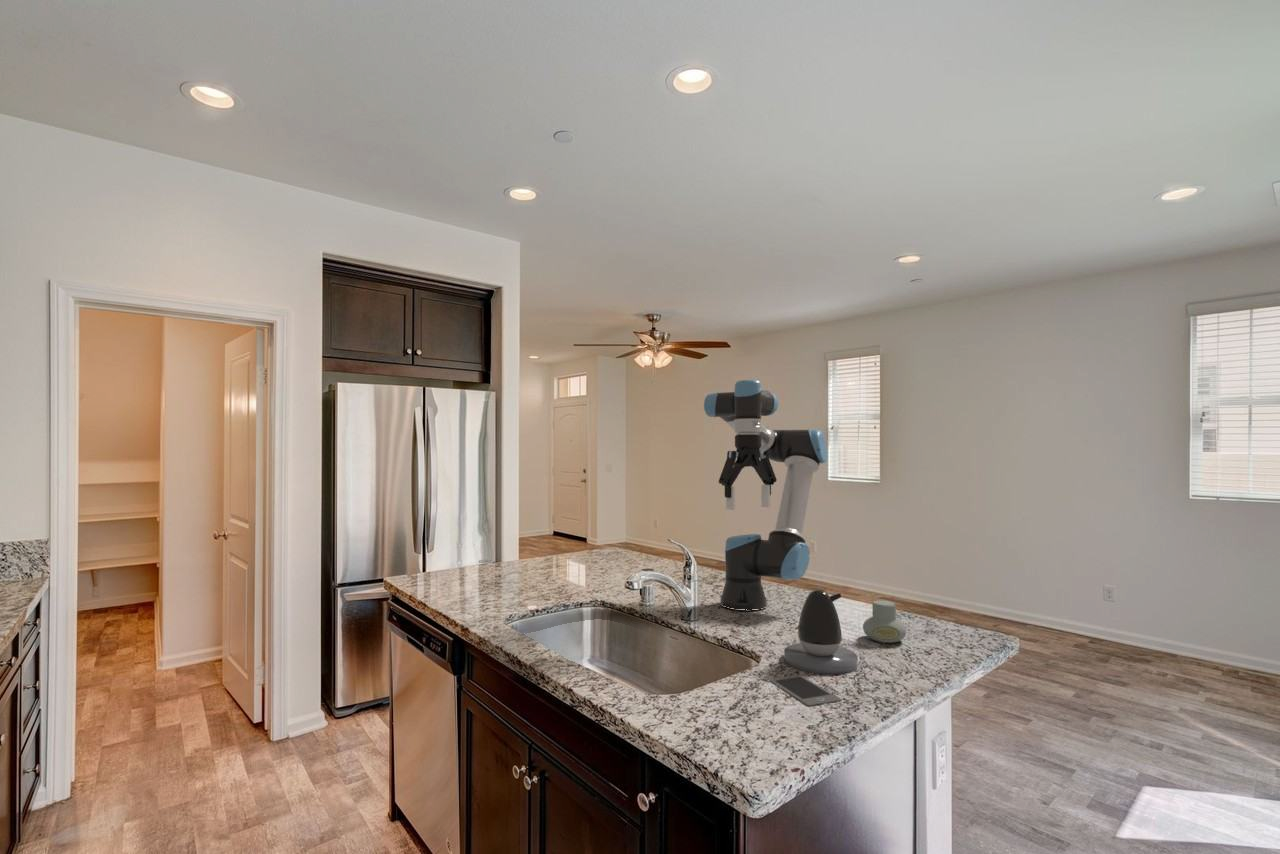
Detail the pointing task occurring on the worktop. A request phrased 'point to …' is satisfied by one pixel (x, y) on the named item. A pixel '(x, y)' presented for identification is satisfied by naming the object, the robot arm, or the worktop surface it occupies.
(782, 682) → the smartphone
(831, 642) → the pump dispenser
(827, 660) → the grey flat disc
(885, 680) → the worktop surface
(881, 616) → the air freshener
